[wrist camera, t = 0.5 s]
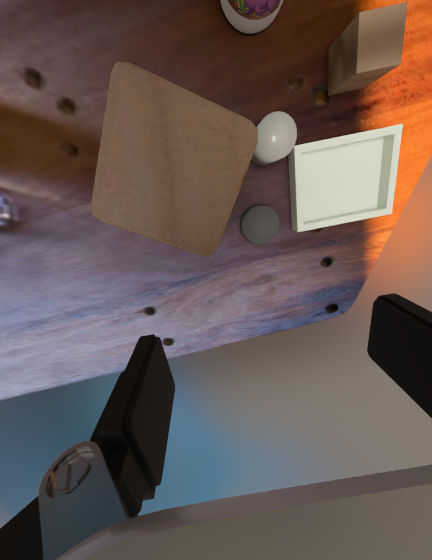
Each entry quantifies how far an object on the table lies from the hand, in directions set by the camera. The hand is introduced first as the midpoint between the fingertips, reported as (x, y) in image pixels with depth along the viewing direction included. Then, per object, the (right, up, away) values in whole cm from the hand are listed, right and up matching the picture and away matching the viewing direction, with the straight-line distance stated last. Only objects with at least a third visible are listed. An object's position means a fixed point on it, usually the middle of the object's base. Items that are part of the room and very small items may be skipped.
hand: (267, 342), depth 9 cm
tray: (+17, +18, +25) cm, 35 cm away
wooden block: (-6, +18, +24) cm, 30 cm away
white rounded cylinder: (+5, +22, +22) cm, 32 cm away
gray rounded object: (+5, +12, +27) cm, 30 cm away
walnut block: (+15, +31, +19) cm, 40 cm away
